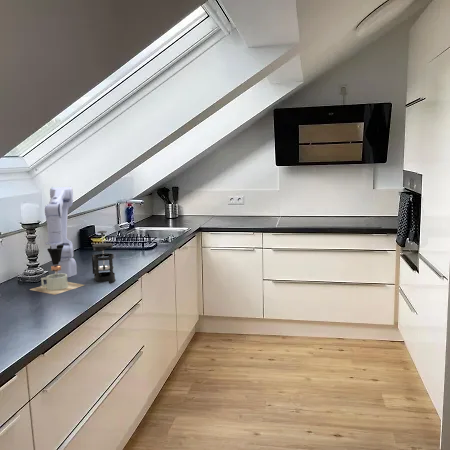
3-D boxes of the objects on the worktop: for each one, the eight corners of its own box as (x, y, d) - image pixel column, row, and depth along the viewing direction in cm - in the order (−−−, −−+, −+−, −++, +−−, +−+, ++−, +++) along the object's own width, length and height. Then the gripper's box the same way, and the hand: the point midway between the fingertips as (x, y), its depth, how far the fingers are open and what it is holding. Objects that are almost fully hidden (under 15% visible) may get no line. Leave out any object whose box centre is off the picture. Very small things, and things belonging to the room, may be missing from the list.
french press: (121, 280, 214) (118, 230, 210) (106, 285, 205) (103, 233, 202) (101, 277, 219) (99, 228, 216) (86, 282, 211) (83, 231, 208)
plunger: (63, 276, 203) (63, 264, 202) (63, 279, 198) (63, 267, 197) (50, 278, 201) (49, 265, 201) (49, 281, 196) (48, 268, 195)
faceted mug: (68, 283, 206) (67, 272, 205) (68, 288, 198) (67, 277, 197) (42, 286, 202) (41, 274, 202) (41, 291, 194) (40, 279, 193)
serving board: (60, 282, 211) (60, 280, 211) (85, 287, 203) (85, 285, 203) (29, 291, 198) (29, 289, 198) (54, 297, 190) (54, 294, 189)
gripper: (47, 230, 208) (48, 261, 209) (42, 234, 194) (44, 266, 195) (63, 230, 210) (65, 260, 211) (60, 233, 196) (62, 265, 197)
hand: (56, 263), depth 203 cm, fingers open, 7 cm apart
